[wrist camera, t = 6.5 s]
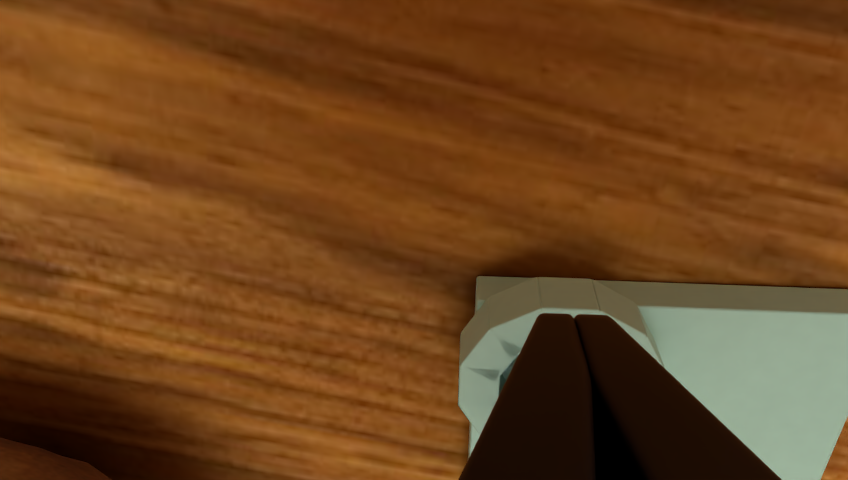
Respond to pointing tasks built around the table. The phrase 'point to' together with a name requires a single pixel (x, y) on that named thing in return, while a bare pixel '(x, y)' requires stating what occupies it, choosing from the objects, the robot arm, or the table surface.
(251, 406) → the table surface
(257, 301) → the table surface
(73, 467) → the bowl
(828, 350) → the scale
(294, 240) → the table surface
